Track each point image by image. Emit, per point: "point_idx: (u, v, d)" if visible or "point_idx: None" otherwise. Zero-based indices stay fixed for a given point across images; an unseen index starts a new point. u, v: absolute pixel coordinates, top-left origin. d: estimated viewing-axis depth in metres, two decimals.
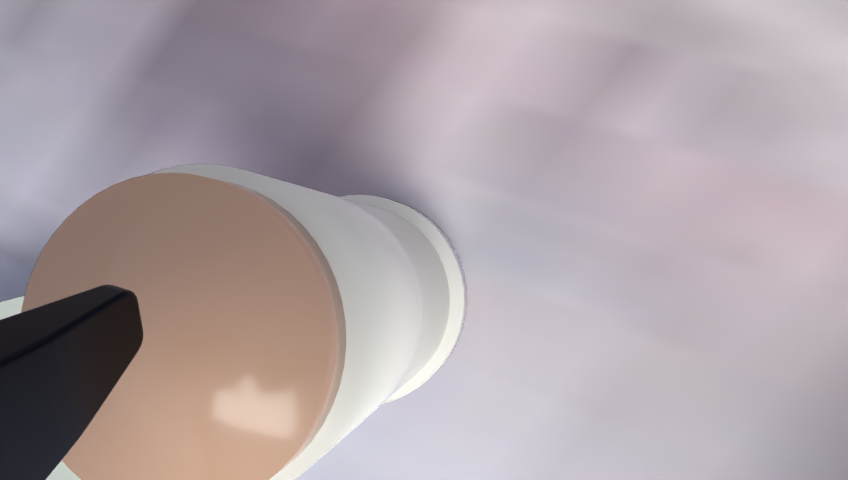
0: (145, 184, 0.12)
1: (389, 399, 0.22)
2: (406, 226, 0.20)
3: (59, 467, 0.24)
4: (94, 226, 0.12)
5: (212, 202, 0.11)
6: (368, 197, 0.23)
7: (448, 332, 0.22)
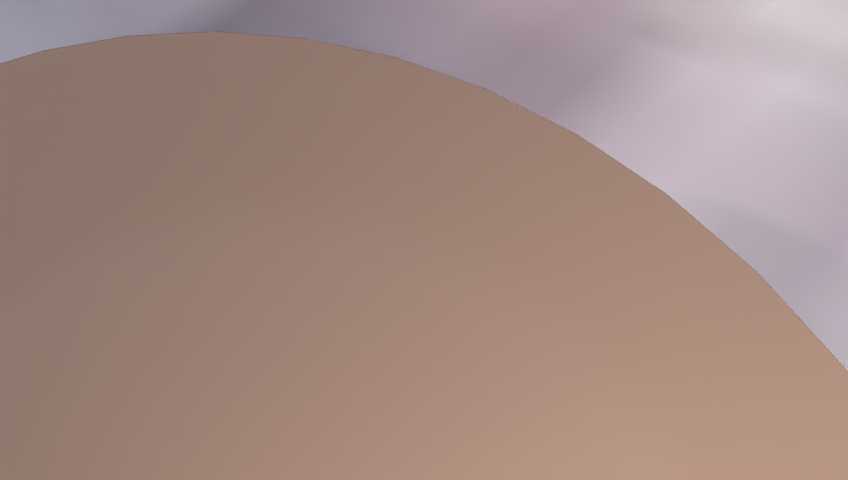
0: (179, 69, 0.03)
1: None
2: None
3: None
4: None
5: (472, 194, 0.02)
6: None
7: None
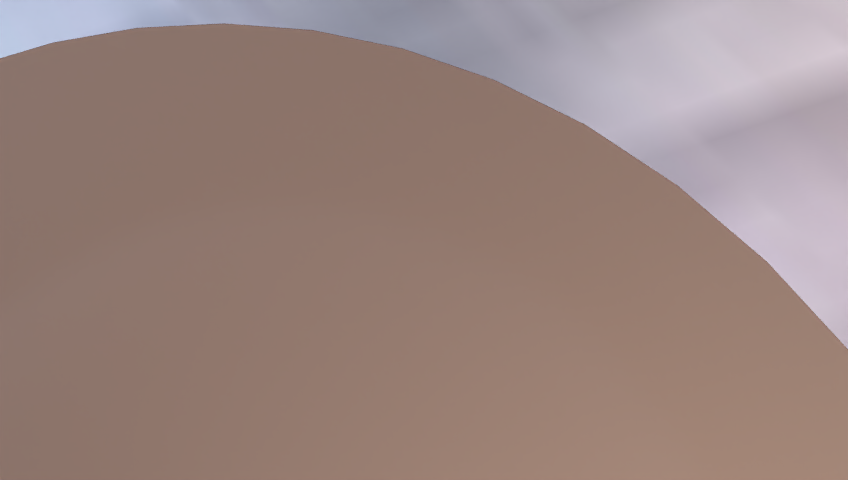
0: (188, 61, 0.03)
1: None
2: None
3: None
4: None
5: (482, 185, 0.02)
6: None
7: None
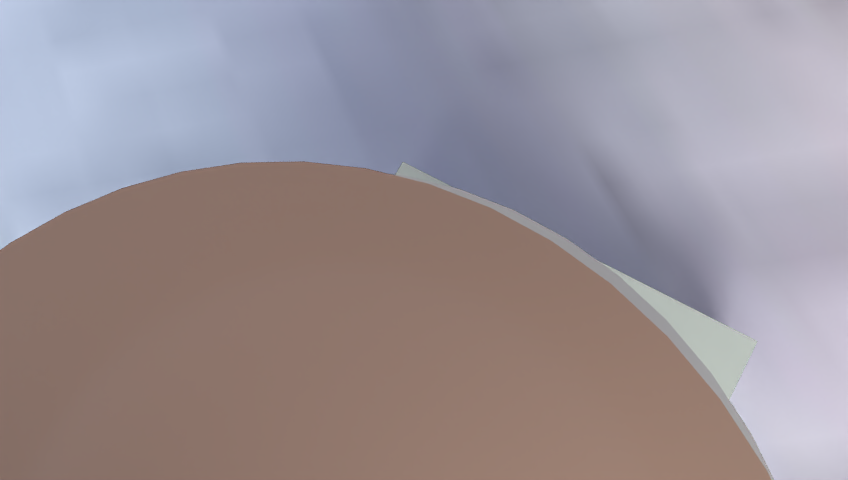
0: (279, 188, 0.04)
1: None
2: None
3: None
4: (92, 279, 0.04)
5: (483, 281, 0.04)
6: None
7: None
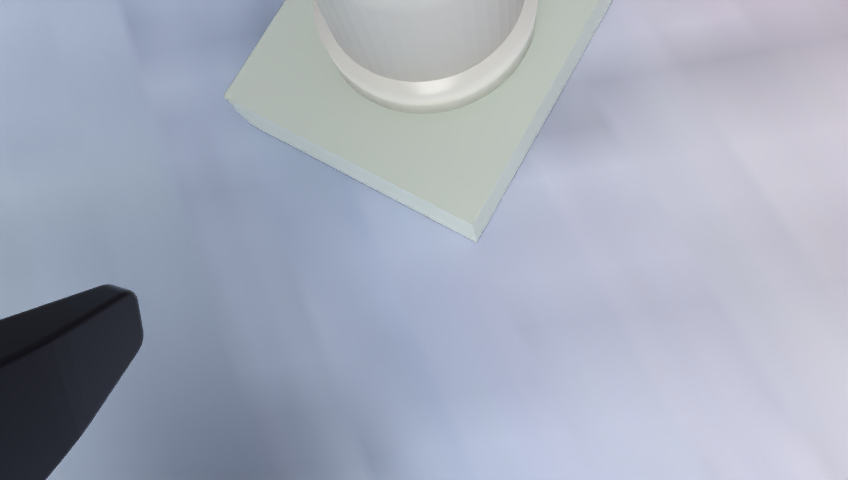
0: None
1: (438, 89, 0.20)
2: None
3: (524, 66, 0.21)
4: None
5: None
6: None
7: (518, 28, 0.20)
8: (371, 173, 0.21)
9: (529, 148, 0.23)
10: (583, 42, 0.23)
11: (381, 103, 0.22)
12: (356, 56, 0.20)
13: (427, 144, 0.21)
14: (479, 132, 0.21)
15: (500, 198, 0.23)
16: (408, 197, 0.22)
